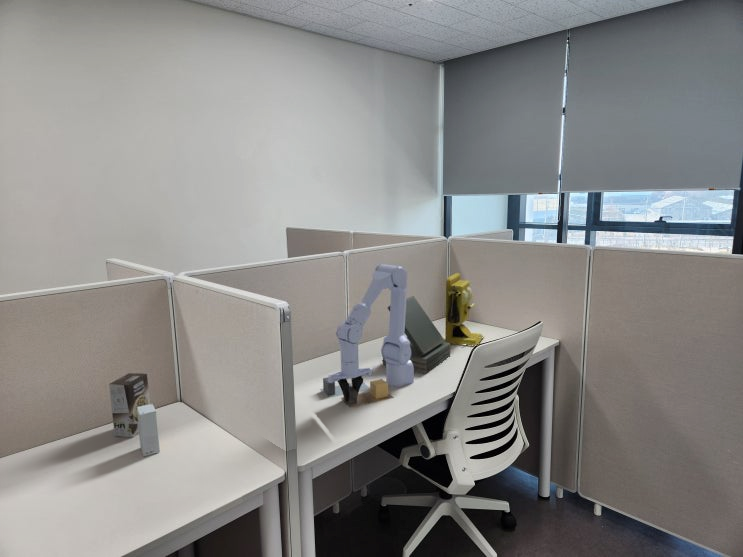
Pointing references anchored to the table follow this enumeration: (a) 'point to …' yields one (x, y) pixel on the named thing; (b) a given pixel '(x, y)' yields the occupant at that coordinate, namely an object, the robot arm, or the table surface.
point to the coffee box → (128, 402)
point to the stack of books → (423, 339)
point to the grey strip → (337, 388)
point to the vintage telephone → (458, 312)
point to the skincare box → (148, 429)
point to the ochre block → (379, 388)
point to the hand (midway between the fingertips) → (350, 399)
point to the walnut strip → (361, 398)
